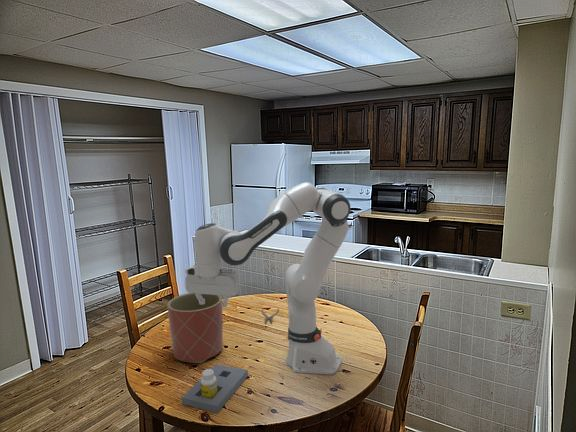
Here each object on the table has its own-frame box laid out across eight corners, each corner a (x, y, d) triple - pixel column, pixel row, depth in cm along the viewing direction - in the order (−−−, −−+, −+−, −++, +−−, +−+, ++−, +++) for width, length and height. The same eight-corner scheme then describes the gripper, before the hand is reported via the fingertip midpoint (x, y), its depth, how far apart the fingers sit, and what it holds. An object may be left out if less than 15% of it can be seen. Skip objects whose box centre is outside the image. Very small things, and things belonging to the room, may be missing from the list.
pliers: (277, 306, 205) (284, 321, 186) (277, 308, 206) (284, 323, 186) (260, 308, 204) (265, 323, 184) (260, 310, 204) (265, 325, 184)
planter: (203, 370, 145) (199, 314, 141) (159, 359, 154) (155, 306, 151) (234, 344, 165) (232, 294, 162) (194, 335, 175) (191, 288, 171)
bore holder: (247, 375, 140) (247, 369, 140) (217, 413, 120) (217, 406, 120) (216, 369, 145) (215, 363, 145) (182, 404, 125) (181, 397, 125)
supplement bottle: (198, 398, 128) (196, 372, 127) (212, 391, 132) (210, 365, 130) (207, 405, 124) (205, 378, 123) (220, 397, 128) (218, 371, 127)
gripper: (239, 267, 131) (242, 304, 133) (191, 264, 138) (194, 299, 140) (231, 272, 125) (234, 311, 127) (181, 269, 132) (184, 306, 134)
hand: (213, 305), depth 133 cm, fingers open, 8 cm apart
